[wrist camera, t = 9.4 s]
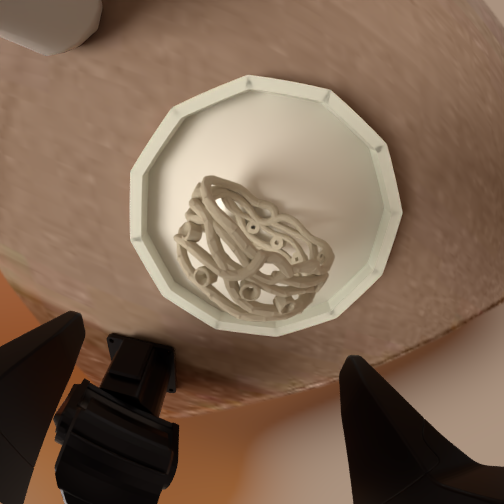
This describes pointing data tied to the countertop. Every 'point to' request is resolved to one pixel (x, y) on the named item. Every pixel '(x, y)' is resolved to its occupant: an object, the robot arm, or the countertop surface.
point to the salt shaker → (49, 23)
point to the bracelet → (249, 253)
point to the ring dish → (269, 190)
